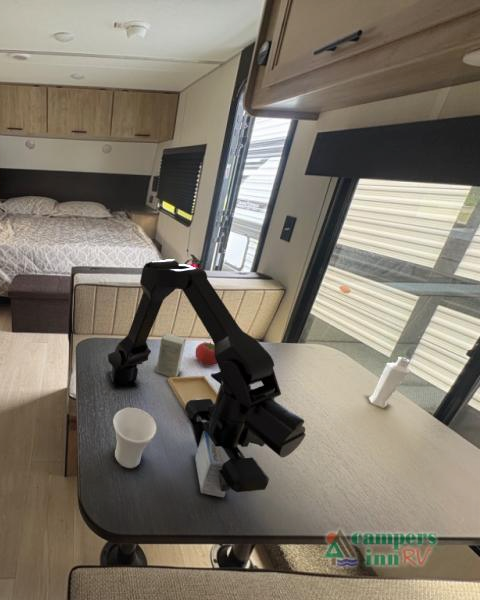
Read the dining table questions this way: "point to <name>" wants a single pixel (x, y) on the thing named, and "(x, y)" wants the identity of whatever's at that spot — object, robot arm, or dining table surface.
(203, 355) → the tomato
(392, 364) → the perfume bottle
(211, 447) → the medicine box
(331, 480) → the dining table surface
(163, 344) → the cosmetic box
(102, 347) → the dining table surface
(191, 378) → the holder
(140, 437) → the cup
